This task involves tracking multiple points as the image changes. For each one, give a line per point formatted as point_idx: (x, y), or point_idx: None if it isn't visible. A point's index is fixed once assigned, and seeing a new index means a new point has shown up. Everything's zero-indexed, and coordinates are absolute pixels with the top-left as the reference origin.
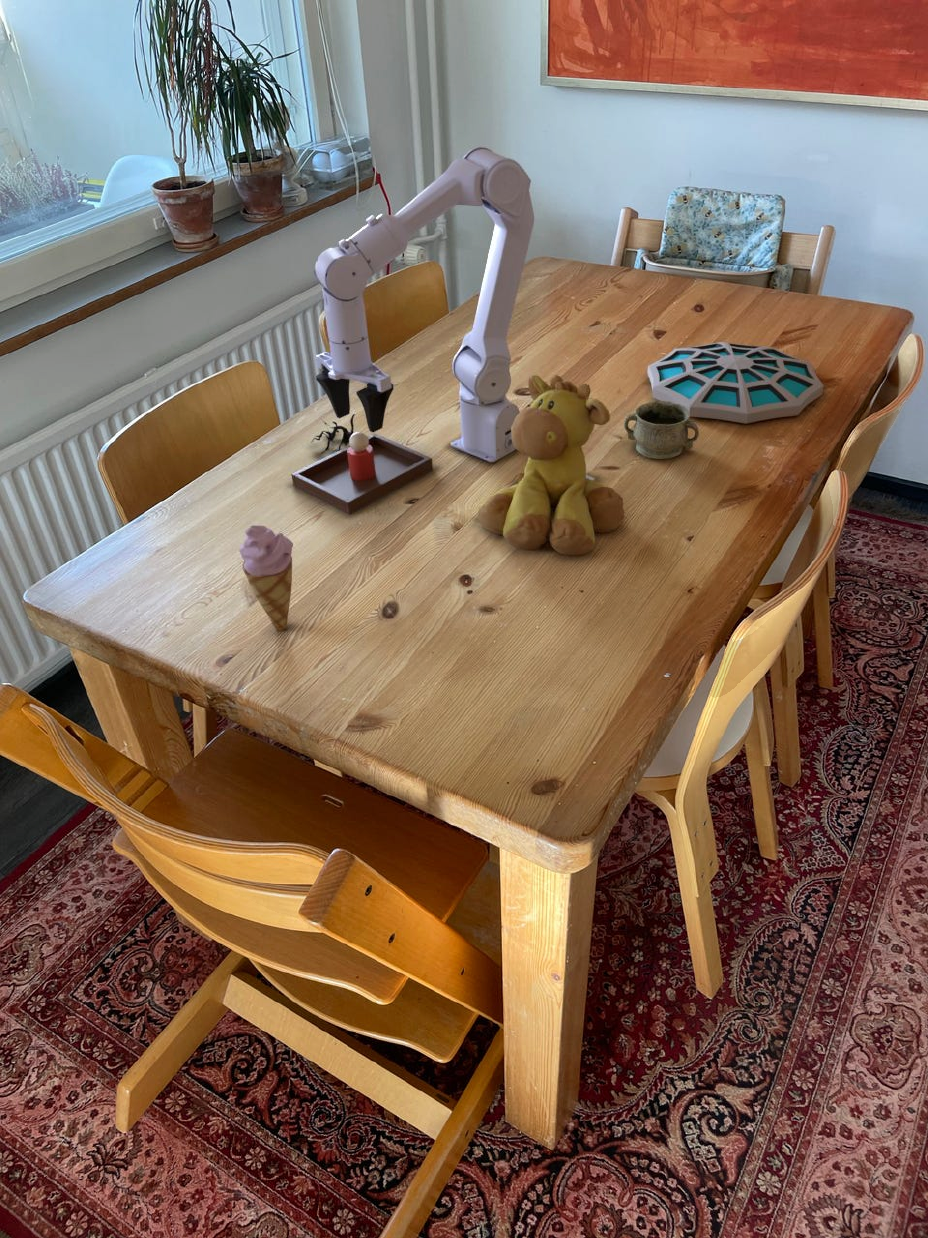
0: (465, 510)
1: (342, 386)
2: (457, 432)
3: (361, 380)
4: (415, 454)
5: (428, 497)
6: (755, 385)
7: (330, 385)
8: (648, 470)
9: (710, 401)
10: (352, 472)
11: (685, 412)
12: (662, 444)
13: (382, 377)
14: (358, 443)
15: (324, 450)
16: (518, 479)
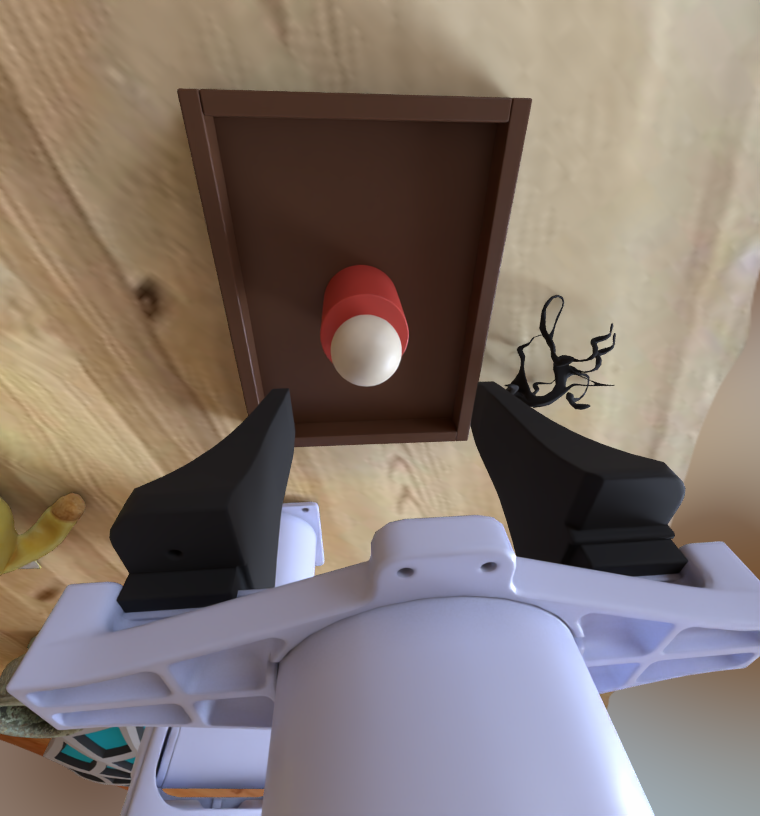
0: (19, 356)
1: (520, 505)
2: (352, 533)
3: (203, 611)
4: (302, 436)
5: (142, 340)
6: (96, 765)
7: (554, 475)
8: (6, 616)
9: (116, 728)
10: (362, 271)
11: (22, 731)
12: (7, 668)
13: (52, 705)
14: (340, 335)
15: (544, 315)
16: (68, 499)
